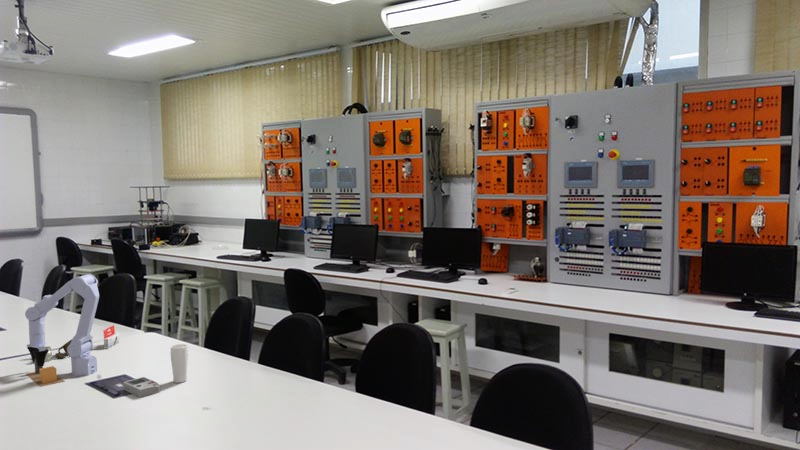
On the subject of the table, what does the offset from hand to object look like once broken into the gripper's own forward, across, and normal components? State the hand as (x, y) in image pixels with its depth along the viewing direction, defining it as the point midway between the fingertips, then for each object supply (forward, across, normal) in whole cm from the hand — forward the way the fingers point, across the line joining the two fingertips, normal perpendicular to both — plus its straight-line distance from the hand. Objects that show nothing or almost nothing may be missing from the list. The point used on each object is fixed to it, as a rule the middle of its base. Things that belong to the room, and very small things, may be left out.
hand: (38, 364), depth 255 cm
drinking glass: (+5, +52, +40) cm, 66 cm away
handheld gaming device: (+5, +53, +24) cm, 58 cm away
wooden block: (+5, +9, 0) cm, 10 cm away
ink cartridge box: (+5, -28, +40) cm, 48 cm away
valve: (+6, -26, +8) cm, 28 cm away
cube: (+4, +15, 0) cm, 15 cm away
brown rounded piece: (+5, -26, +18) cm, 32 cm away
